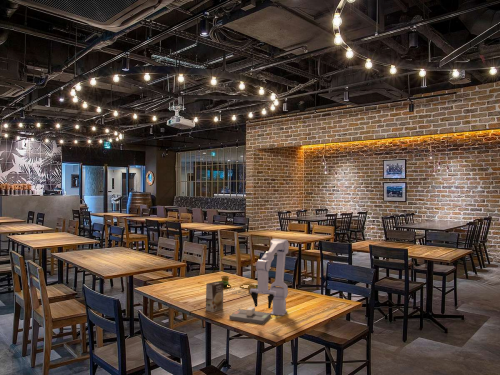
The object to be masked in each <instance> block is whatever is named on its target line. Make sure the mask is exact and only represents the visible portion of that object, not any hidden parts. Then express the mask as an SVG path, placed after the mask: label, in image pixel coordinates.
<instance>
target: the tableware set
mask: <svg viewBox="0 0 500 375" xmlns="http://www.w3.org/2000/svg"><path fill="white" fill-rule="evenodd" d="M229 278H230V276H229V275H222V276H221V280H217V281H216V282H222V283H224V288H223V290H224V292H228V290H229V291H233V290H236V289H235V288H236V287H233V288H234V289H233V288H231V287H232V285H231V284H230V282H229ZM227 285H228V286H230V287H227ZM243 285H249V286H248V288H245V289H244V290H247V291H248V292H246V291H243V290H239V291H240V292H241V291H242V292H241V293H240V292H239V291H238V293H237V291H235V292H231V294H233V295H238V296H242V297H245V296H248V295H251V293H250V289H258V284H253V283H244V284H240V285H239V287H240V288H241V289H243V288H244V287H241V286H243ZM227 288H228V289H227ZM232 289H233V290H232ZM246 293H247V294H246Z"/></svg>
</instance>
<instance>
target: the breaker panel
mask: <svg viewBox="0 0 500 375" xmlns="http://www.w3.org/2000/svg"><path fill="white" fill-rule="evenodd" d="M270 318H272V314H271V312H265V311H264V312H262V311H257V310H255V313H254V314H253V315H252V316H248V315H246V309H240V308H239V309H238V310H236V311H234V312H233V313H232V314H230V315H229V320H231V321H237V322H238V321H239V322H244V323H245V322H246V323H250V324H251V323H252V324H259V325H264V324H265V323H266V322H267V321H268V320H269V319H270Z"/></svg>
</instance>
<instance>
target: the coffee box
mask: <svg viewBox="0 0 500 375" xmlns="http://www.w3.org/2000/svg"><path fill="white" fill-rule="evenodd" d="M205 284H206V285H205V286H206V287H205V288H206V289H205V311H208V312H211V313H214V312H217V311H221V310H224V289H223V288H224V283H222V282H217V281H212V282H209V283H205Z"/></svg>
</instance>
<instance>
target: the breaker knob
mask: <svg viewBox="0 0 500 375" xmlns="http://www.w3.org/2000/svg"><path fill="white" fill-rule="evenodd" d="M245 310H246V315H248V316H252V315H253V314H254V313H255V311H256V307H255V306H249V307H248V308H246V309H245Z"/></svg>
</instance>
